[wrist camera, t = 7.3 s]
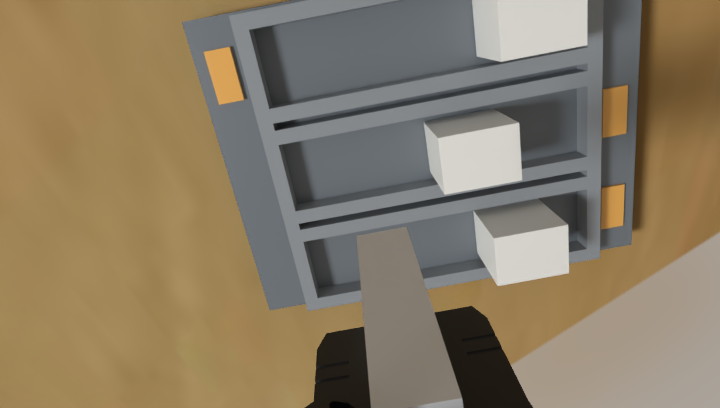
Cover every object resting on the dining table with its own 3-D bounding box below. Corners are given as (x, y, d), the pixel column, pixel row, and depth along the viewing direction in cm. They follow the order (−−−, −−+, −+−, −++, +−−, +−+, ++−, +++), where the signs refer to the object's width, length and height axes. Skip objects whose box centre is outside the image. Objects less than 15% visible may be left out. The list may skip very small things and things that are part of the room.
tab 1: (423, 121, 26) (437, 138, 22) (493, 108, 26) (519, 122, 22) (430, 171, 27) (444, 194, 23) (496, 159, 27) (522, 180, 23)
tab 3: (473, 210, 28) (493, 238, 24) (537, 198, 28) (568, 224, 24) (477, 252, 29) (497, 286, 25) (539, 241, 29) (568, 273, 25)
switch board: (190, 22, 25) (174, 22, 22) (627, -65, 24) (660, -75, 22) (273, 297, 32) (267, 321, 29) (618, 234, 31) (642, 253, 28)
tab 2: (471, -4, 24) (496, -9, 20) (548, -19, 24) (587, -27, 20) (476, 56, 25) (501, 61, 21) (549, 42, 25) (587, 45, 21)
